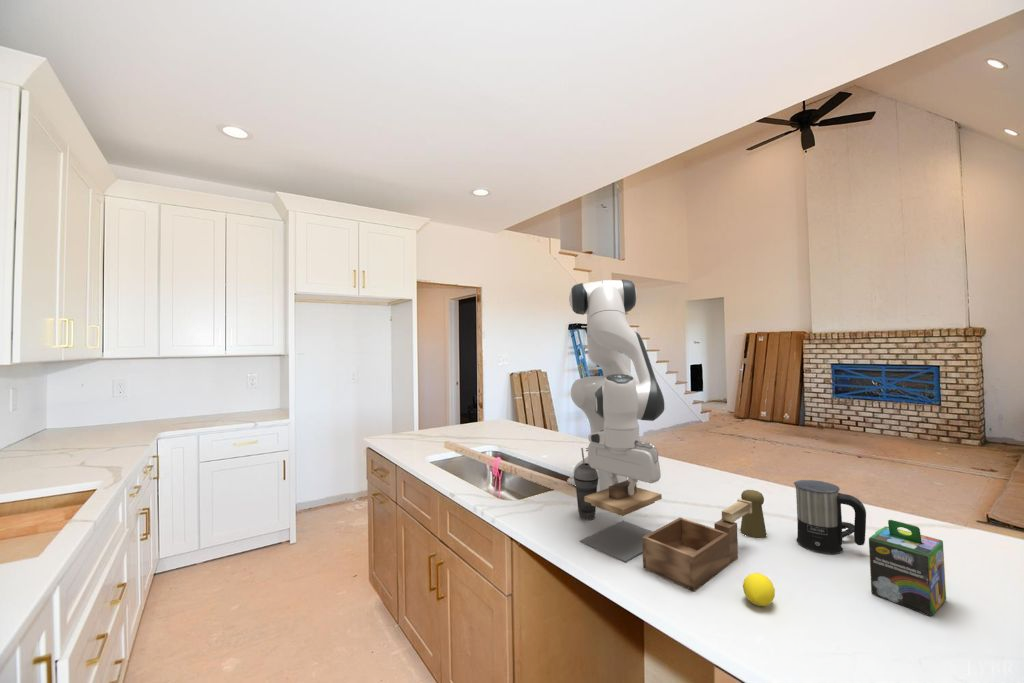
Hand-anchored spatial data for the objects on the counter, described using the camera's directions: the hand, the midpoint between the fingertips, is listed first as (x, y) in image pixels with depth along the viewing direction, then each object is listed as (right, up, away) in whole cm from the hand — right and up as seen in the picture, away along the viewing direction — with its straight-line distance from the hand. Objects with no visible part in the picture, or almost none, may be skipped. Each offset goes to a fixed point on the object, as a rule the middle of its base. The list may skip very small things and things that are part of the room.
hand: (623, 492), depth 110 cm
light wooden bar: (+26, -3, -7) cm, 27 cm away
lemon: (+20, -12, -27) cm, 35 cm away
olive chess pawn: (+35, -12, +2) cm, 37 cm away
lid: (0, -3, 0) cm, 3 cm away
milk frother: (+50, -11, -3) cm, 51 cm away
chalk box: (+49, -12, -26) cm, 57 cm away
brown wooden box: (+13, -12, -12) cm, 21 cm away
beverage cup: (-7, -13, +15) cm, 21 cm away
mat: (0, -12, 0) cm, 12 cm away
